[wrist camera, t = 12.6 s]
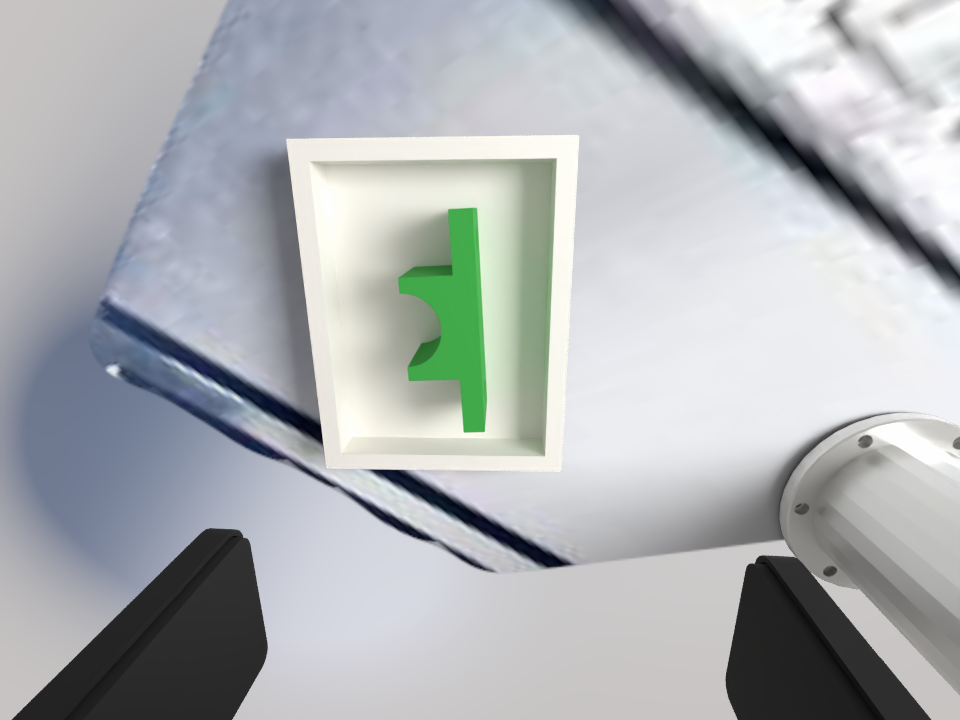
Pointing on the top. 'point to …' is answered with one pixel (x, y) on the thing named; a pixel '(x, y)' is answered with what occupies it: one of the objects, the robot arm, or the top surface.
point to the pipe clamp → (454, 319)
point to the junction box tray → (410, 320)
